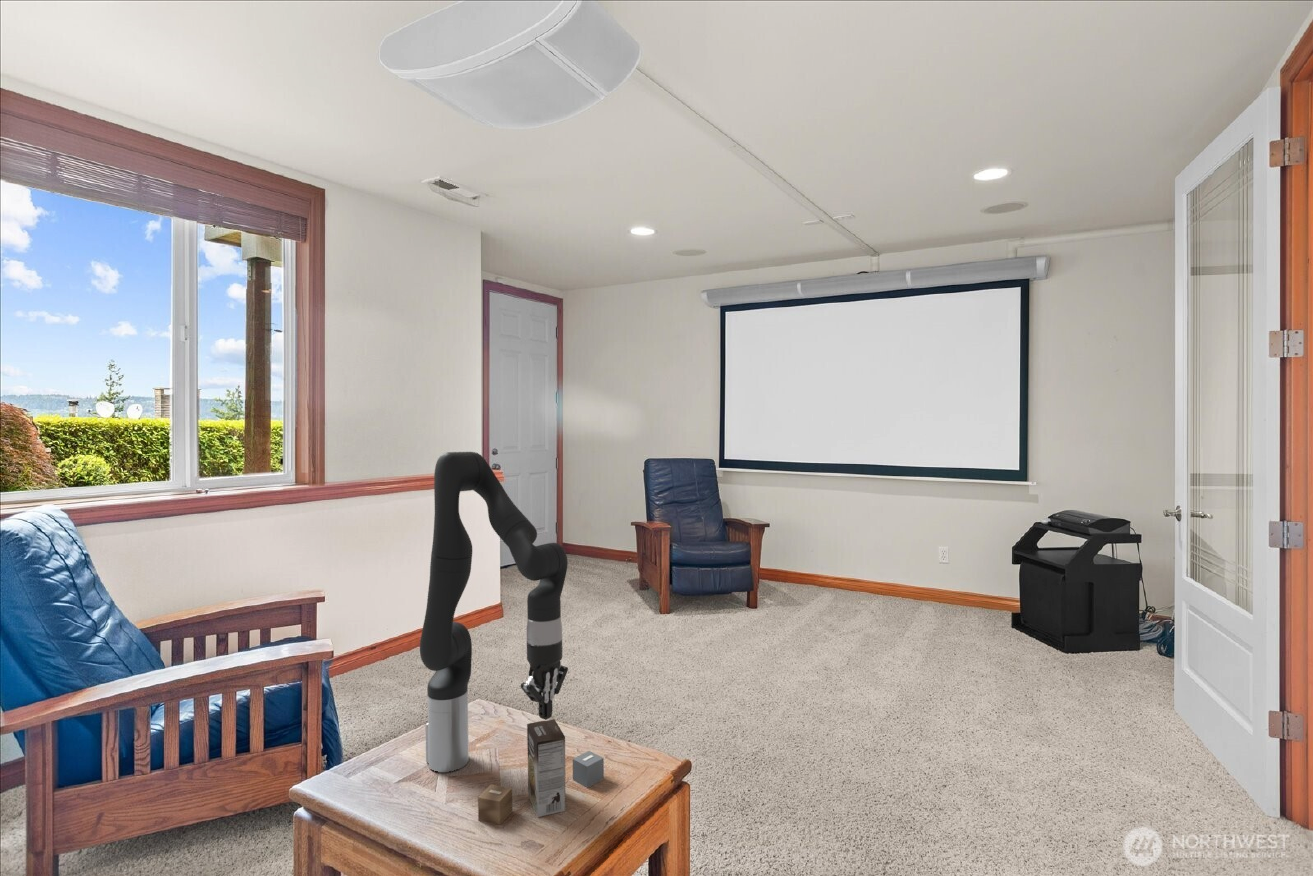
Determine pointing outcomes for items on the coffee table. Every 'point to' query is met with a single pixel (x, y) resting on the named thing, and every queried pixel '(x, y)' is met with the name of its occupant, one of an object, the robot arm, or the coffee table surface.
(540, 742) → the coffee box
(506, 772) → the coffee table surface
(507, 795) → the walnut block
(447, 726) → the robot arm
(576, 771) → the slate block
